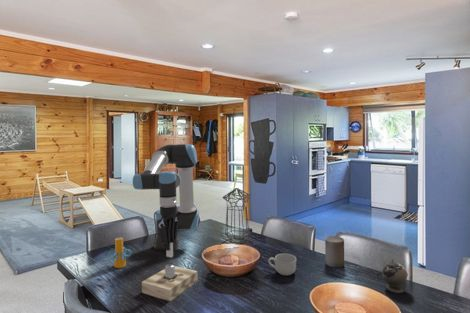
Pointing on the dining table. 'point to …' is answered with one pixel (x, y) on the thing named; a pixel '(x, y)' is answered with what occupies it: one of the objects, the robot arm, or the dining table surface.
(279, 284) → the dining table surface
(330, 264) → the pillar candle
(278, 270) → the teacup
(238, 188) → the geometric lantern
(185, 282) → the jig
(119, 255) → the orange post with rings
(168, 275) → the grey metal peg
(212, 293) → the dining table surface
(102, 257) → the dining table surface
